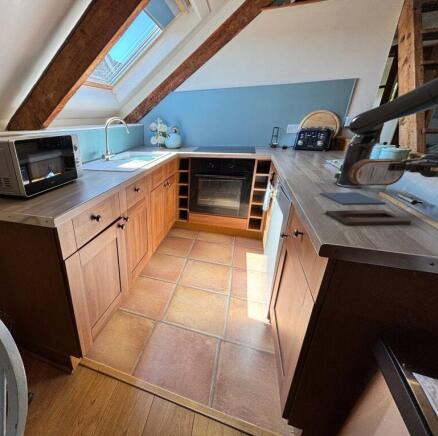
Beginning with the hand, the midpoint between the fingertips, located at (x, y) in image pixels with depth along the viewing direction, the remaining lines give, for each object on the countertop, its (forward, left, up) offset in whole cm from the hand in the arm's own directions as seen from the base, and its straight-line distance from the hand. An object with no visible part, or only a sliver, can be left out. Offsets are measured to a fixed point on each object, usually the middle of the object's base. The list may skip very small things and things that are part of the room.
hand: (385, 166), depth 77 cm
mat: (-19, +8, -17) cm, 27 cm away
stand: (+2, -3, -17) cm, 18 cm away
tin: (0, -2, -6) cm, 7 cm away
